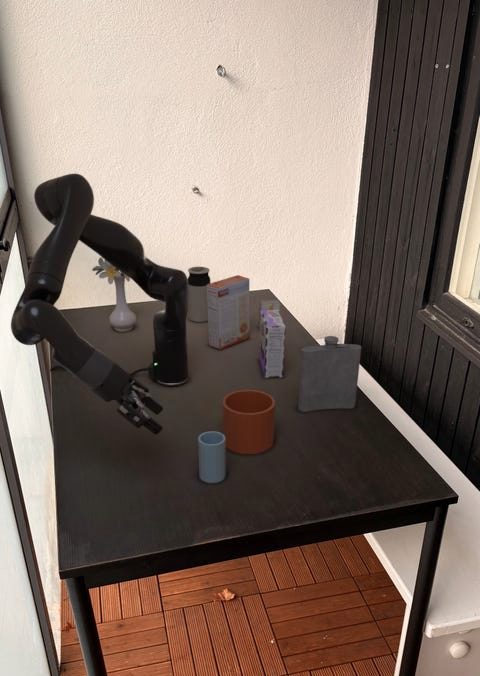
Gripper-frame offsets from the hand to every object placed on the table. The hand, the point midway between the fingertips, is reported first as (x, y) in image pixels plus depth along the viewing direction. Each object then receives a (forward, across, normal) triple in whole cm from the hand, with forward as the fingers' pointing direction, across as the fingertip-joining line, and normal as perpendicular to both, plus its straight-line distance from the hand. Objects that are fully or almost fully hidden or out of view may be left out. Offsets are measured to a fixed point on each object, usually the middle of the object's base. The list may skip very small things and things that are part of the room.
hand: (160, 421), depth 139 cm
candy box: (+33, -56, +12) cm, 66 cm away
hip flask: (+41, -31, +20) cm, 55 cm away
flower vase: (0, -92, -21) cm, 95 cm away
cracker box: (+25, -78, +4) cm, 81 cm away
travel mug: (+18, -100, -3) cm, 102 cm away
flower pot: (+25, -15, +4) cm, 29 cm away
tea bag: (+35, -89, +14) cm, 97 cm away
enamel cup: (+18, 0, -3) cm, 18 cm away
